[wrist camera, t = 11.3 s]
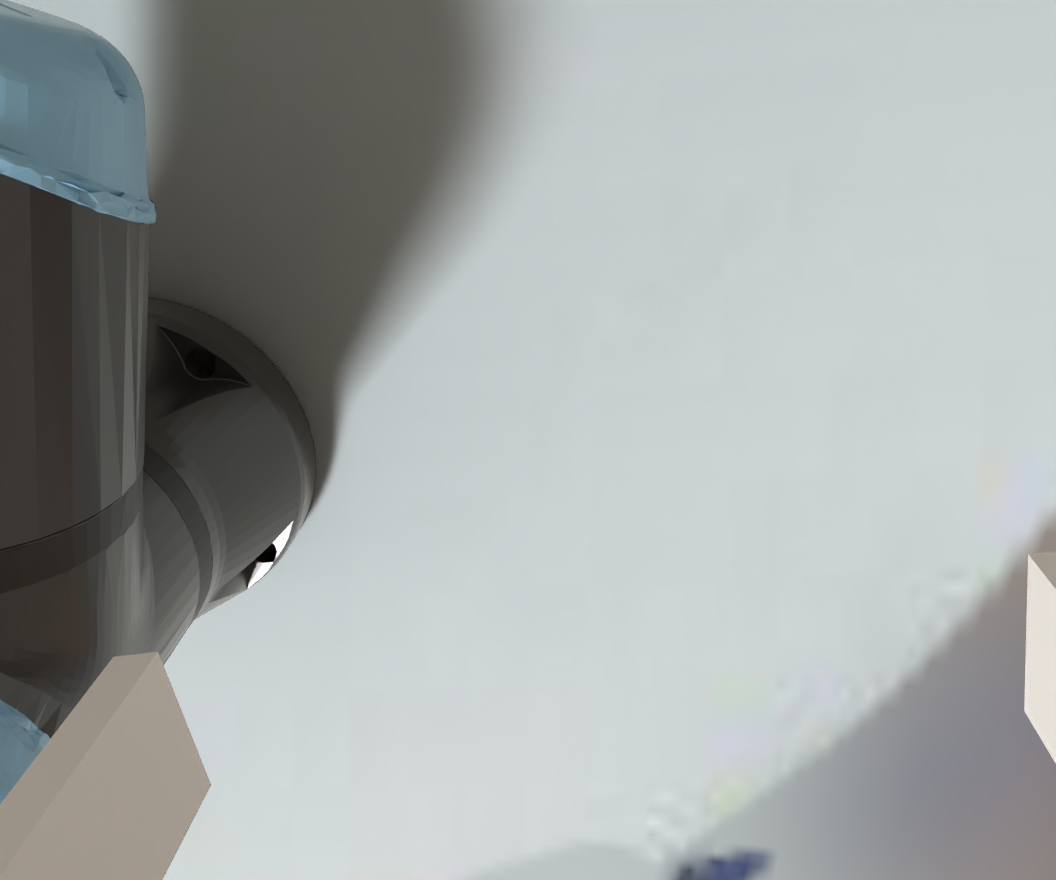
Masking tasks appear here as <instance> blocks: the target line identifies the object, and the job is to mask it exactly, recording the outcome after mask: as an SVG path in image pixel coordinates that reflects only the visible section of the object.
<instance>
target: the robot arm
mask: <svg viewBox="0 0 1056 880" xmlns="http://www.w3.org/2000/svg"><path fill="white" fill-rule="evenodd" d="M155 222H156V209H155V204H154V203H153V202H152V201H151V200H150V199H149V195H148V180H147V158H146V129H145V105H144V96H143V93H142V89H141V86H140V83H139V81H138V78H137V76H136V74H135V72H134V70H133V68H132V67H131V65H130V64H129V62H128V61H127V60H126V59H125V57H124V56H123V55H122V54H121V53H120V52H119V51H118V50H117V49H116V48H115V47H114V46H113V45H112V44H111V43H110V42H109V41H107V40H106V39H105V38H103V37H102V36H100V35H98V34H96V33H95V32H93V31H91V30H90V29H88V28H85V27H83V26H81V25H79V24H76V23H74V22H71V21H68V20H66V19H63V18H60V17H57V16H54V15H51V14H48V13H45V12H42V11H39V10H36V9H33V8H30V7H26V6H23V5H20V4H17V3H14V2H10V1H7V0H0V880H162V879H163V877H164V876H165V874H166V872H167V870H168V868H169V866H170V864H171V862H172V860H173V858H174V856H175V854H176V852H177V850H178V848H179V846H180V844H181V842H182V840H183V838H184V837H185V835H186V833H187V831H188V829H189V827H190V825H191V823H192V821H193V819H194V817H195V815H196V813H197V811H198V809H199V807H200V805H201V803H202V801H203V800H204V798H205V796H206V794H207V792H208V790H209V788H210V786H211V784H210V781H209V779H208V776H207V774H206V771H205V769H204V766H203V764H202V761H201V759H200V756H199V753H198V751H197V748H196V746H195V743H194V741H193V738H192V736H191V733H190V731H189V728H188V726H187V723H186V721H185V718H184V716H183V713H182V711H181V708H180V706H179V703H178V701H177V698H176V696H175V693H174V691H173V688H172V686H171V683H170V681H169V678H168V676H167V673H166V671H165V668H164V666H163V665H164V664H165V662H166V661H167V659H168V658H169V656H170V655H171V653H172V652H173V650H174V649H175V647H176V646H177V644H178V643H179V641H180V640H181V638H182V637H183V635H184V634H185V632H186V631H187V629H188V628H189V626H190V625H191V623H192V622H193V620H194V619H196V618H198V617H200V616H201V615H203V614H205V613H206V612H208V611H210V610H212V609H213V608H215V607H217V606H219V605H220V604H222V603H224V602H226V601H227V600H229V599H231V598H233V597H234V596H236V595H238V594H240V593H241V592H243V591H245V590H246V589H248V588H250V587H251V586H252V585H254V584H255V583H257V582H258V581H259V580H260V579H261V578H263V577H264V576H265V575H266V574H267V573H268V572H269V571H270V570H271V569H272V568H273V567H274V566H275V565H276V564H277V563H278V561H279V560H280V559H281V558H282V556H283V555H284V554H285V552H286V551H287V549H288V547H289V546H290V544H291V542H292V541H293V539H294V538H295V536H296V534H297V533H298V531H299V529H300V527H301V526H302V524H303V522H304V520H305V518H306V515H307V513H308V510H309V507H310V504H311V501H312V497H313V492H314V486H315V475H316V462H315V451H314V446H313V440H312V436H311V432H310V429H309V426H308V423H307V420H306V417H305V415H304V412H303V410H302V408H301V406H300V404H299V402H298V400H297V398H296V396H295V394H294V392H293V391H292V389H291V387H290V386H289V384H288V383H287V381H286V380H285V379H284V377H283V376H282V375H281V373H280V372H279V371H278V369H277V368H276V367H275V366H274V365H273V364H272V362H271V361H270V360H269V359H268V358H267V357H266V356H265V355H264V354H263V353H262V352H261V351H260V350H259V349H258V348H257V347H255V346H254V345H253V344H252V343H251V342H250V341H248V340H247V339H246V338H244V337H243V336H242V335H240V334H239V333H238V332H236V331H235V330H233V329H232V328H230V327H229V326H227V325H225V324H224V323H222V322H220V321H218V320H216V319H215V318H213V317H210V316H208V315H206V314H204V313H202V312H199V311H197V310H194V309H192V308H189V307H186V306H183V305H180V304H176V303H172V302H168V301H163V300H158V299H151V298H148V277H149V240H150V224H152V223H155ZM1027 588H1028V589H1027V626H1026V627H1027V628H1026V667H1025V668H1026V669H1025V671H1026V672H1025V709H1024V711H1025V713H1026V715H1027V716H1028V718H1029V720H1030V721H1031V723H1032V725H1033V726H1034V728H1035V730H1036V731H1037V733H1038V735H1039V736H1040V738H1041V740H1042V741H1043V743H1044V745H1045V746H1046V748H1047V750H1048V751H1049V753H1050V755H1051V756H1052V758H1053V760H1054V761H1055V763H1056V551H1052V552H1043V553H1034V554H1028V587H1027Z"/></svg>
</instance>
